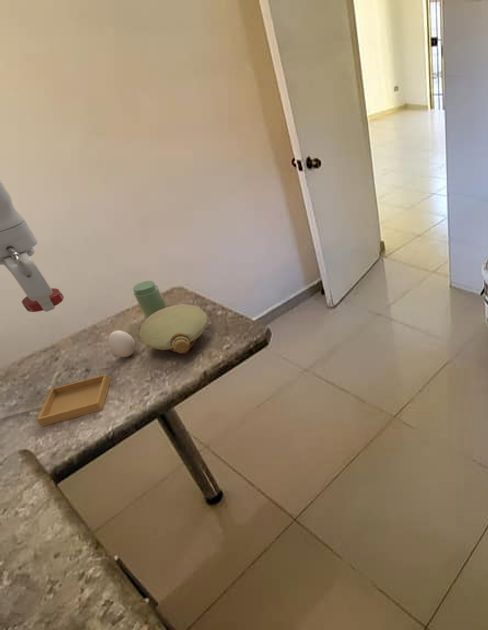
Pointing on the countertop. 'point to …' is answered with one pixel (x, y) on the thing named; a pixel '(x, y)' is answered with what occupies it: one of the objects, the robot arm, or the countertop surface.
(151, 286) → the jar
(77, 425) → the countertop surface
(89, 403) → the tray
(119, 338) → the egg
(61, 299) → the lid
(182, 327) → the flask
